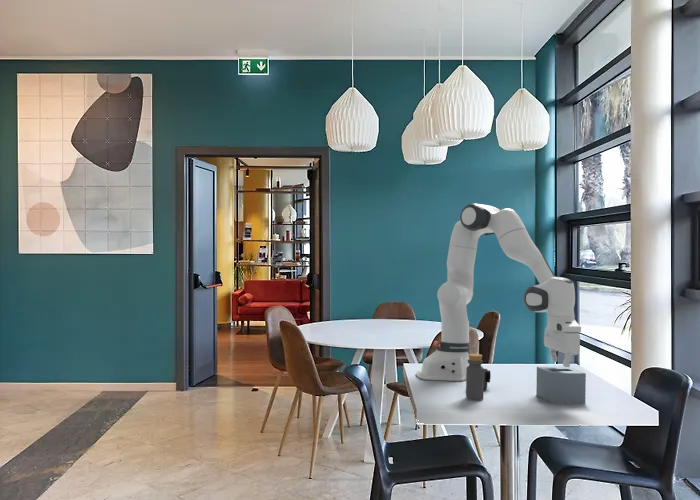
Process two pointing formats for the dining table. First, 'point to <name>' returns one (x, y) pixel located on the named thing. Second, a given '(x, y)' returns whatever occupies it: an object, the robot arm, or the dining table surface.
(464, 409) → the dining table surface
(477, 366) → the bottle
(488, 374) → the digital camera
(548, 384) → the box
